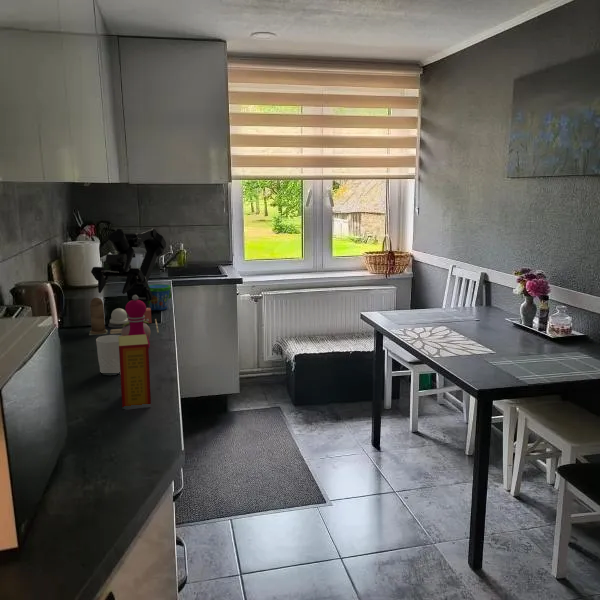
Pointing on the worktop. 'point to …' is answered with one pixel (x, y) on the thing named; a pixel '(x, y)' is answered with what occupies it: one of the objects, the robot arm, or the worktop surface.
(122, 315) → the dome
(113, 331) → the game board
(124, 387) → the baking soda box
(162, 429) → the worktop surface
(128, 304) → the pepper mill
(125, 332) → the decorative fruit
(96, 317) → the pawn
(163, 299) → the snack cup
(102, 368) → the white cup
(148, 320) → the die
